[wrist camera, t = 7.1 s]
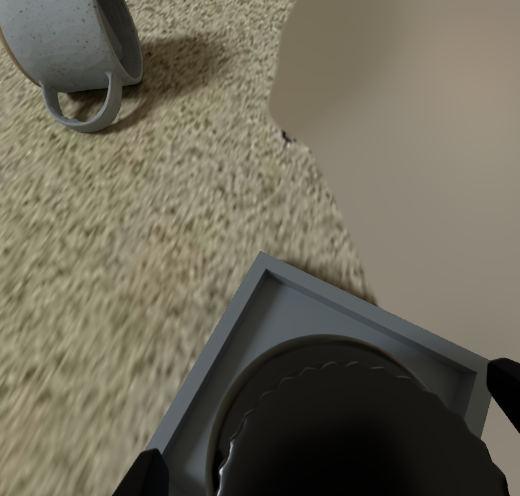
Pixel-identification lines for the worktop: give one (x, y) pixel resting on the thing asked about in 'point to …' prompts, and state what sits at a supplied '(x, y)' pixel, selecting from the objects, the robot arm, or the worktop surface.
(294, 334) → the tray
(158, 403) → the worktop surface
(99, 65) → the ceramic mug
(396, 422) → the supplement bottle
